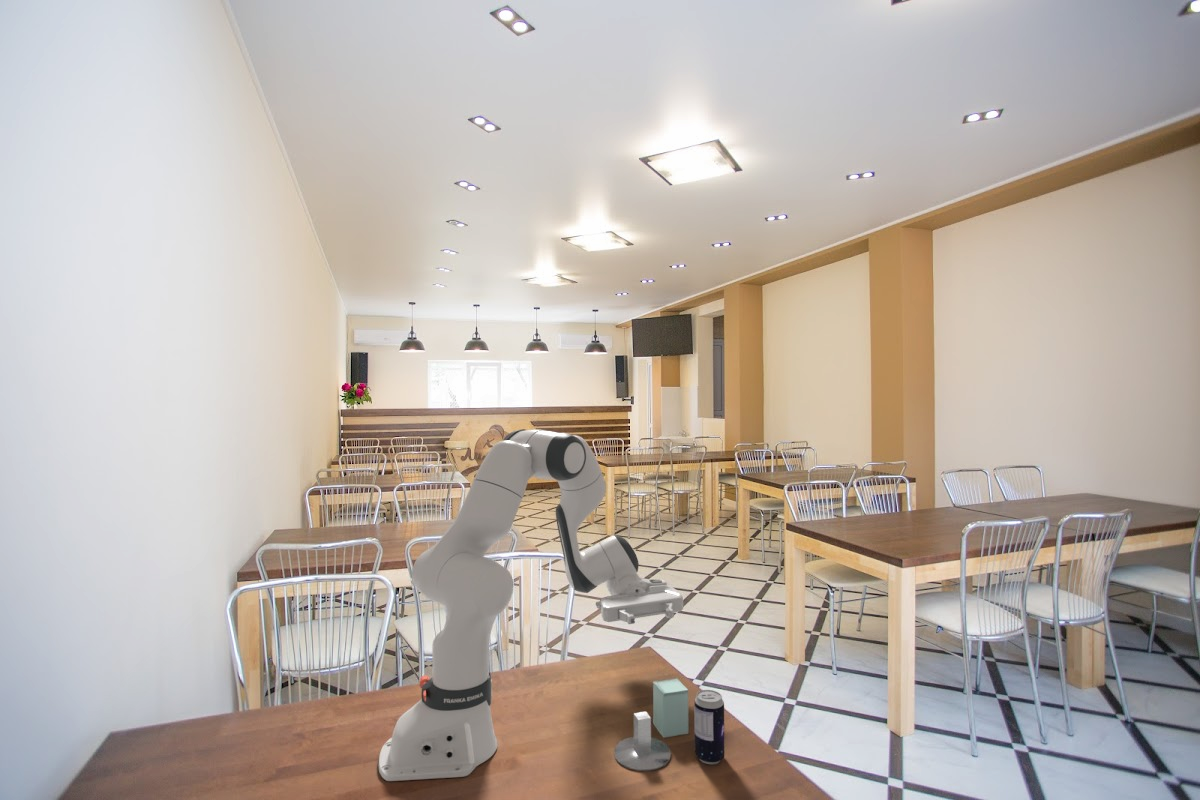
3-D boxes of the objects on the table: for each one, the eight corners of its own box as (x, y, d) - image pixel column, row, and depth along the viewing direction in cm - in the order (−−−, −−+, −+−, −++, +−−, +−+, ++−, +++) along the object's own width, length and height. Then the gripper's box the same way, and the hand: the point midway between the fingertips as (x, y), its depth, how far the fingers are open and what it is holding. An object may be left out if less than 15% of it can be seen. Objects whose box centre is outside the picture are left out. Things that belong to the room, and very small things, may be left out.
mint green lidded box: (663, 737, 122) (663, 693, 122) (653, 724, 128) (653, 681, 128) (688, 733, 124) (688, 689, 124) (677, 720, 129) (677, 678, 129)
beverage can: (727, 767, 112) (726, 703, 112) (697, 766, 112) (696, 702, 112) (721, 749, 118) (721, 688, 118) (692, 749, 118) (692, 688, 118)
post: (624, 775, 110) (624, 734, 110) (607, 743, 120) (607, 706, 120) (679, 765, 113) (679, 725, 113) (657, 734, 123) (657, 698, 123)
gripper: (593, 589, 148) (607, 610, 134) (670, 578, 153) (691, 598, 139) (594, 614, 148) (608, 637, 135) (671, 603, 153) (692, 624, 139)
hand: (651, 617), depth 137 cm, fingers open, 8 cm apart
